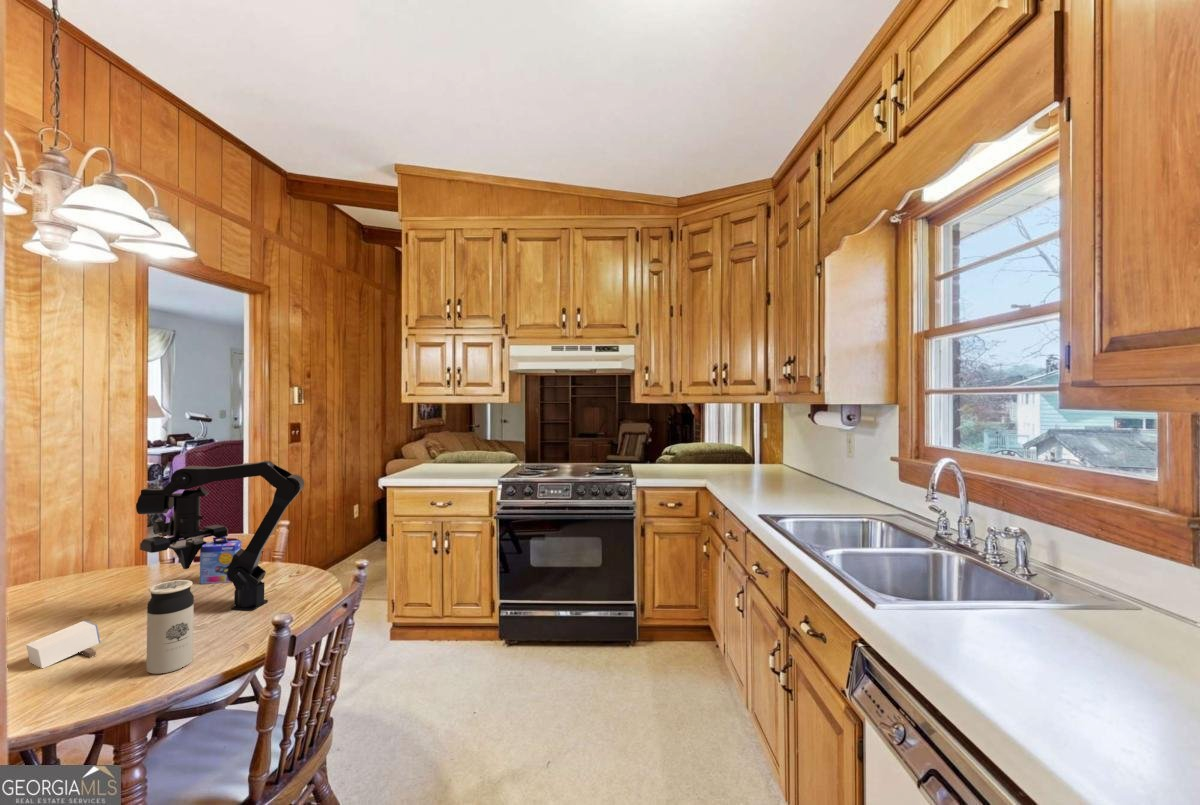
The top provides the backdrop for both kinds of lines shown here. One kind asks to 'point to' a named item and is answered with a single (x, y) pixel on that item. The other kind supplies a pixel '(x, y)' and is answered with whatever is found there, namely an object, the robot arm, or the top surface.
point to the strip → (88, 652)
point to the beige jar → (170, 626)
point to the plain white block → (63, 644)
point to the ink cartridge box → (217, 560)
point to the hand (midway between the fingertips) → (185, 568)
